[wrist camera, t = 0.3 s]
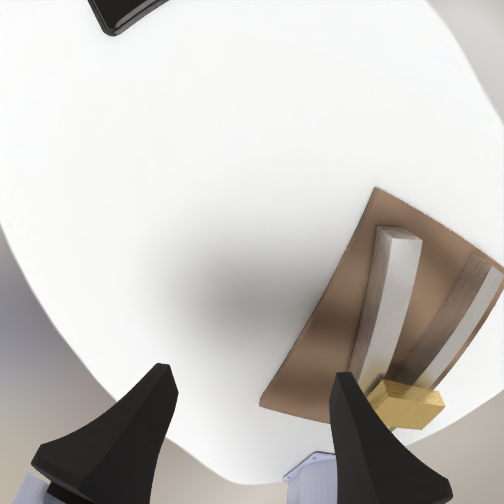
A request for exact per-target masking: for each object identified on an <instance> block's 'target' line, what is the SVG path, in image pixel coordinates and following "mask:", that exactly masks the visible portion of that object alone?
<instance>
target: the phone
mask: <svg viewBox="0 0 504 504" xmlns="http://www.w3.org/2000/svg"><path fill="white" fill-rule="evenodd" d="M167 1H169V0H88V2H89V4H90V6H91V8H92V10H93V12H94V14H95V17H96V19H97V21H98V23H99V25H100V27H101V29H102V31H103V32H104V33H106V34H107V35H109V36H117V35H119V34H121V33H122V32H124V31H125V30H126V29H128V28H129V27H130V26H132V25H133V24H134V23H136V22H137V21H138V20H140V19H141V18H143V17H144V16H145V15H147V14H148V13H150V12H151V11H153V10H154V9H156V8H157V7H159V6H161V5H162V4H164V3H165V2H167Z"/></svg>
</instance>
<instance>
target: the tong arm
mask: <svg viewBox="0 0 504 504" xmlns="http://www.w3.org/2000/svg"><path fill="white" fill-rule="evenodd" d="M422 242H423V241H422V240H421V239H420V238H418V237H417V236H415V235H414V234H412V233H411V232H409V231H408V230H406V229H405V228H401V227H389V226H377V229H376V237H375V244H374V251H373V258H372V264H371V270H370V276H369V281H368V287H367V292H366V297H365V302H364V307H363V311H362V316H361V320H360V325H359V329H358V333H357V337H356V341H355V345H354V349H353V353H352V356H351V360H350V364H349V367H348V371H347V372H351V373H352V374H353V376H354V378H355V380H356V381H357V383H358V385H359V387H360V388H361V390H362V392H363V393H364V395H365V397H366V398H367V397H368V396H369V395H370V393H371V392H372V391H373V390H374V389H375V388H376V387H377V385H378V384H379V383H380V382H381V381H382V379H384V377H385V375H386V372H387V370H388V367H389V364H390V362H391V359H392V356H393V353H394V350H395V348H396V345H397V342H398V339H399V335H400V332H401V329H402V326H403V323H404V319H405V316H406V312H407V309H408V305H409V301H410V297H411V294H412V290H413V285H414V281H415V277H416V272H417V268H418V263H419V258H420V253H421V247H422Z"/></svg>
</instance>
